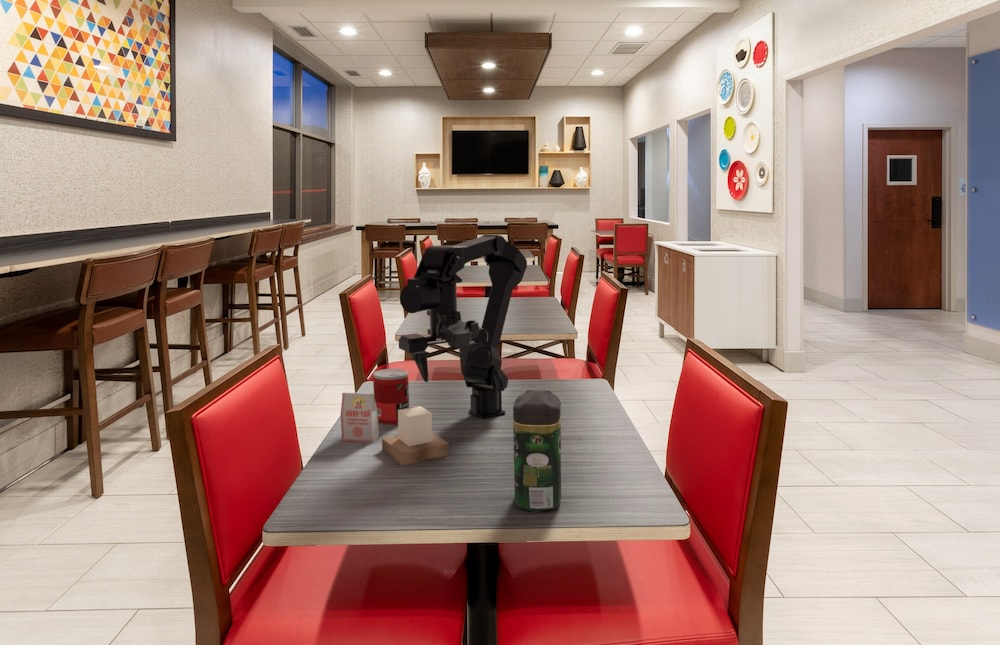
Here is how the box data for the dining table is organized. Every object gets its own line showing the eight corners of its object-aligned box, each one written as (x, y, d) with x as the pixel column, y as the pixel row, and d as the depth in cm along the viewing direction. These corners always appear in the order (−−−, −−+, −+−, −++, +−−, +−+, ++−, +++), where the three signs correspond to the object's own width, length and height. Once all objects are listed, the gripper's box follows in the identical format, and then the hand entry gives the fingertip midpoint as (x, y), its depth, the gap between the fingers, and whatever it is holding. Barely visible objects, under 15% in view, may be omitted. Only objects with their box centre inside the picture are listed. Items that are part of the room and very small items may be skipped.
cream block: (421, 434, 144) (420, 406, 143) (432, 441, 140) (431, 412, 139) (398, 438, 142) (397, 410, 141) (409, 446, 138) (408, 417, 136)
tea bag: (348, 435, 152) (346, 390, 150) (378, 436, 151) (376, 391, 149) (342, 441, 148) (339, 395, 146) (372, 442, 147) (370, 396, 145)
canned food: (403, 425, 158) (401, 377, 156) (369, 423, 159) (367, 376, 157) (414, 414, 165) (412, 369, 163) (382, 413, 167) (379, 367, 164)
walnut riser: (427, 442, 148) (426, 429, 147) (449, 457, 140) (448, 443, 139) (382, 452, 143) (381, 438, 142) (402, 468, 135) (401, 453, 134)
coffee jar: (516, 488, 124) (515, 385, 120) (562, 489, 123) (562, 386, 119) (511, 512, 114) (509, 402, 111) (560, 514, 113) (560, 403, 110)
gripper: (420, 316, 136) (423, 394, 139) (501, 306, 146) (502, 379, 149) (396, 308, 145) (399, 382, 148) (473, 300, 155) (475, 368, 158)
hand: (445, 378), depth 151 cm, fingers open, 9 cm apart
